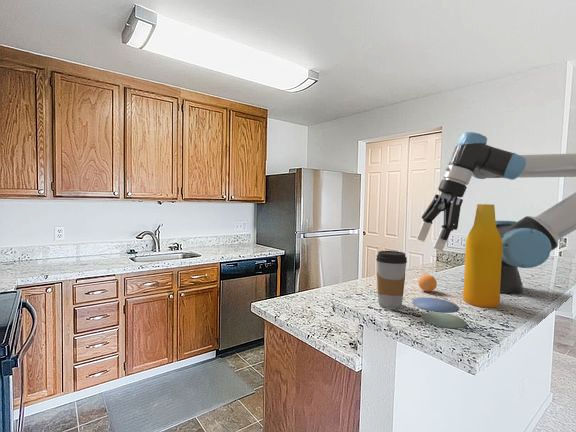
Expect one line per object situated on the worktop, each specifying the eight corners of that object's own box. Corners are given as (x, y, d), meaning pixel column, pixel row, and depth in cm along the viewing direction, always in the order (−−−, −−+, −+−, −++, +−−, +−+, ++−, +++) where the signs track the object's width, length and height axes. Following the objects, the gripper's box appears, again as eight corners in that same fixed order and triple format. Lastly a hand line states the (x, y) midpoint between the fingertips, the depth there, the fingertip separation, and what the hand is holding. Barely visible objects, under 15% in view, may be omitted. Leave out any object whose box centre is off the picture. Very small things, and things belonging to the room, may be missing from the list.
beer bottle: (507, 308, 89) (513, 205, 88) (475, 308, 89) (480, 204, 87) (485, 298, 99) (490, 204, 97) (456, 298, 98) (460, 203, 96)
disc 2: (450, 312, 85) (450, 311, 85) (475, 327, 75) (475, 327, 75) (414, 313, 84) (414, 312, 84) (435, 328, 74) (435, 327, 74)
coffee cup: (407, 311, 86) (409, 256, 85) (375, 308, 87) (377, 254, 86) (403, 301, 94) (404, 251, 93) (373, 299, 95) (375, 249, 95)
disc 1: (442, 298, 98) (442, 297, 98) (468, 312, 86) (468, 311, 86) (405, 298, 97) (405, 297, 97) (425, 312, 85) (425, 311, 85)
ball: (430, 288, 108) (431, 272, 108) (439, 293, 102) (440, 276, 102) (415, 288, 107) (415, 272, 107) (423, 293, 102) (423, 276, 102)
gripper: (427, 177, 112) (404, 233, 115) (464, 178, 88) (434, 249, 90) (447, 185, 113) (423, 240, 115) (489, 187, 88) (458, 258, 90)
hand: (428, 244), depth 103 cm, fingers open, 13 cm apart
